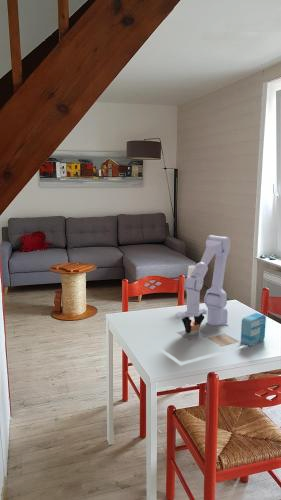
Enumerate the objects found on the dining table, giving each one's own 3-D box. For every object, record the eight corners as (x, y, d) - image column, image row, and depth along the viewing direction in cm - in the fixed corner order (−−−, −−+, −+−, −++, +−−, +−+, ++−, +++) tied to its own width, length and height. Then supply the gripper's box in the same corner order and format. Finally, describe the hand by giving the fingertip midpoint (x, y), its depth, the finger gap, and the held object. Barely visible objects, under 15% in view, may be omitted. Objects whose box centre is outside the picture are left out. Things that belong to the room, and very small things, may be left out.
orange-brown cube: (193, 331, 191) (193, 321, 190) (199, 334, 187) (199, 324, 186) (185, 333, 188) (185, 322, 188) (191, 336, 185) (191, 326, 184)
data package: (249, 347, 176) (250, 321, 174) (240, 344, 180) (241, 318, 177) (264, 340, 184) (266, 314, 182) (255, 337, 187) (257, 311, 185)
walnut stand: (224, 336, 188) (224, 333, 188) (239, 344, 180) (239, 341, 179) (207, 340, 183) (207, 337, 183) (221, 348, 175) (221, 346, 175)
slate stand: (194, 330, 195) (194, 328, 194) (207, 338, 186) (207, 335, 186) (176, 334, 190) (176, 332, 189) (189, 342, 181) (189, 339, 181)
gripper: (185, 308, 178) (184, 337, 180) (211, 302, 185) (210, 331, 187) (175, 303, 184) (175, 332, 186) (201, 298, 191) (200, 326, 194)
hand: (192, 331), depth 187 cm, fingers closed on orange-brown cube, 5 cm apart
